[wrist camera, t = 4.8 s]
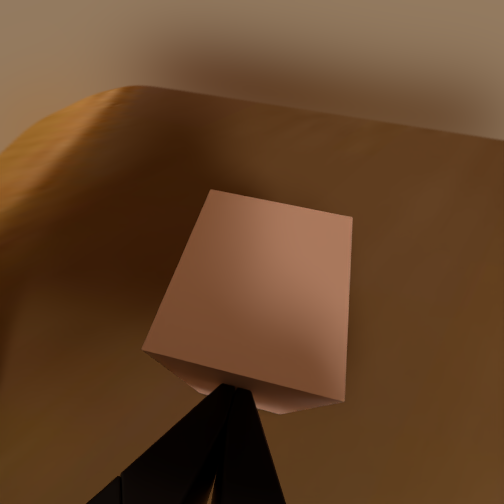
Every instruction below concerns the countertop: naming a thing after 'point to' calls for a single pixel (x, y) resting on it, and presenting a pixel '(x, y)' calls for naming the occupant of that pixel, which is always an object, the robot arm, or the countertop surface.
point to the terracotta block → (260, 304)
